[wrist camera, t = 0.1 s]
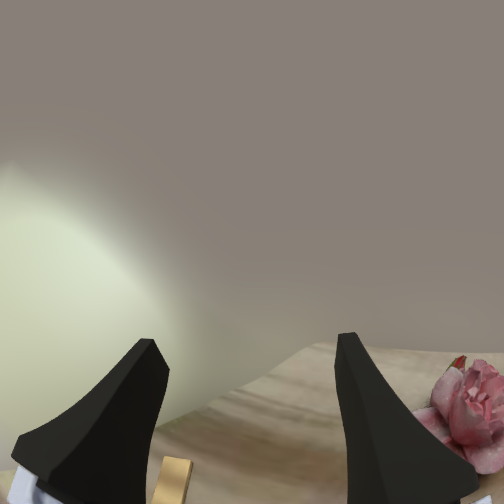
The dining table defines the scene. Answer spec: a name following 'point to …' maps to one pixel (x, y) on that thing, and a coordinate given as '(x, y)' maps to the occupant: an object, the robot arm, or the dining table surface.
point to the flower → (469, 414)
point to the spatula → (172, 481)
